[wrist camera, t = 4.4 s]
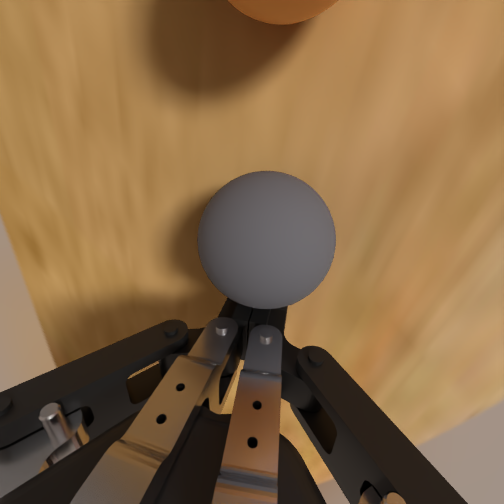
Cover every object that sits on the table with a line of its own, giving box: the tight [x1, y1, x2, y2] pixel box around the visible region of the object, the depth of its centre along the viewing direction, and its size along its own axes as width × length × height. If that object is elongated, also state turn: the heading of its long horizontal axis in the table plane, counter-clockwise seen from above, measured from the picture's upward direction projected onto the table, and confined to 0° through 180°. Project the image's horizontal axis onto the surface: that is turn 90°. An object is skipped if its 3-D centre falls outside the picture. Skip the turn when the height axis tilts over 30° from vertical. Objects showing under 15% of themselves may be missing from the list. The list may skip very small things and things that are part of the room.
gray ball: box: [197, 171, 336, 309], centre depth 11 cm, size 6×6×6 cm
